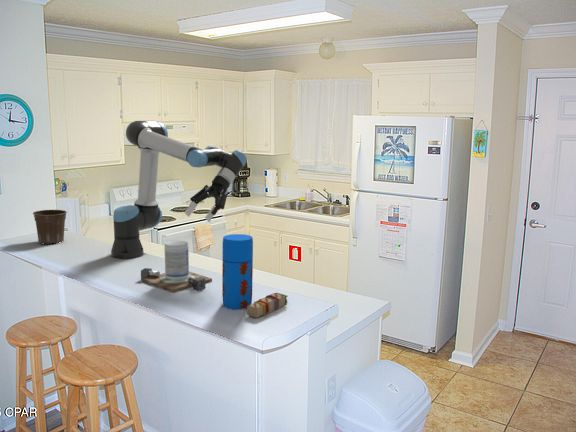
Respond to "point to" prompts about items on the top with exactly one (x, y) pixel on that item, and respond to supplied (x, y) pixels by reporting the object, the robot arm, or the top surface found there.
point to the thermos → (237, 271)
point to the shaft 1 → (149, 273)
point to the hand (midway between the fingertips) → (196, 217)
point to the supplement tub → (176, 260)
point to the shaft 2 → (197, 283)
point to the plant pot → (50, 225)
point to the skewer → (267, 304)
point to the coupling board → (173, 282)
